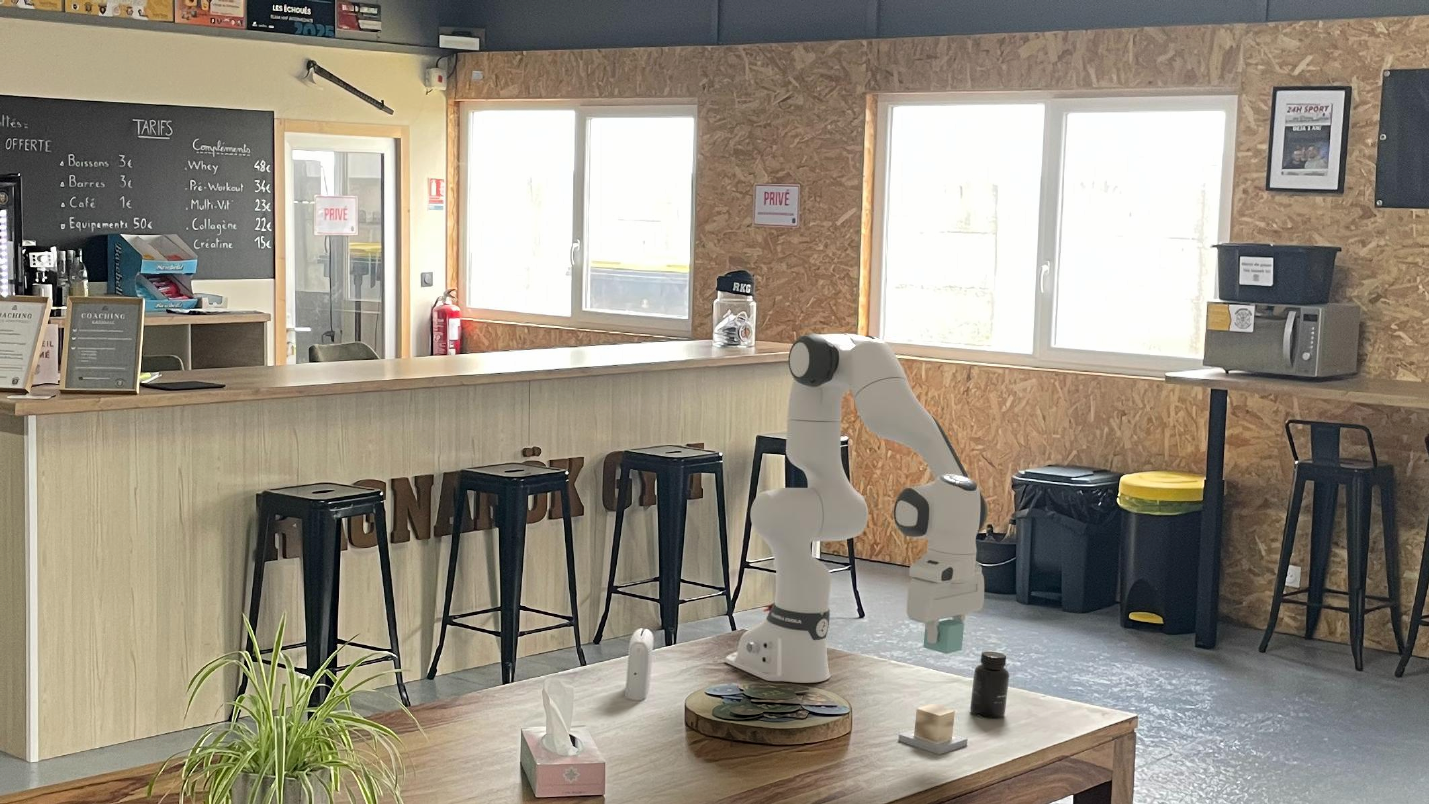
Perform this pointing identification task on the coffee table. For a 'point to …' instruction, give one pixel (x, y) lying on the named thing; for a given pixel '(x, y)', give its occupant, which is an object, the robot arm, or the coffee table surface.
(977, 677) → the supplement bottle
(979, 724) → the coffee table surface
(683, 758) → the coffee table surface
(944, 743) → the plate
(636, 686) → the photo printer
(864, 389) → the robot arm
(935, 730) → the maple cube
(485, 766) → the coffee table surface
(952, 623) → the teal cube
